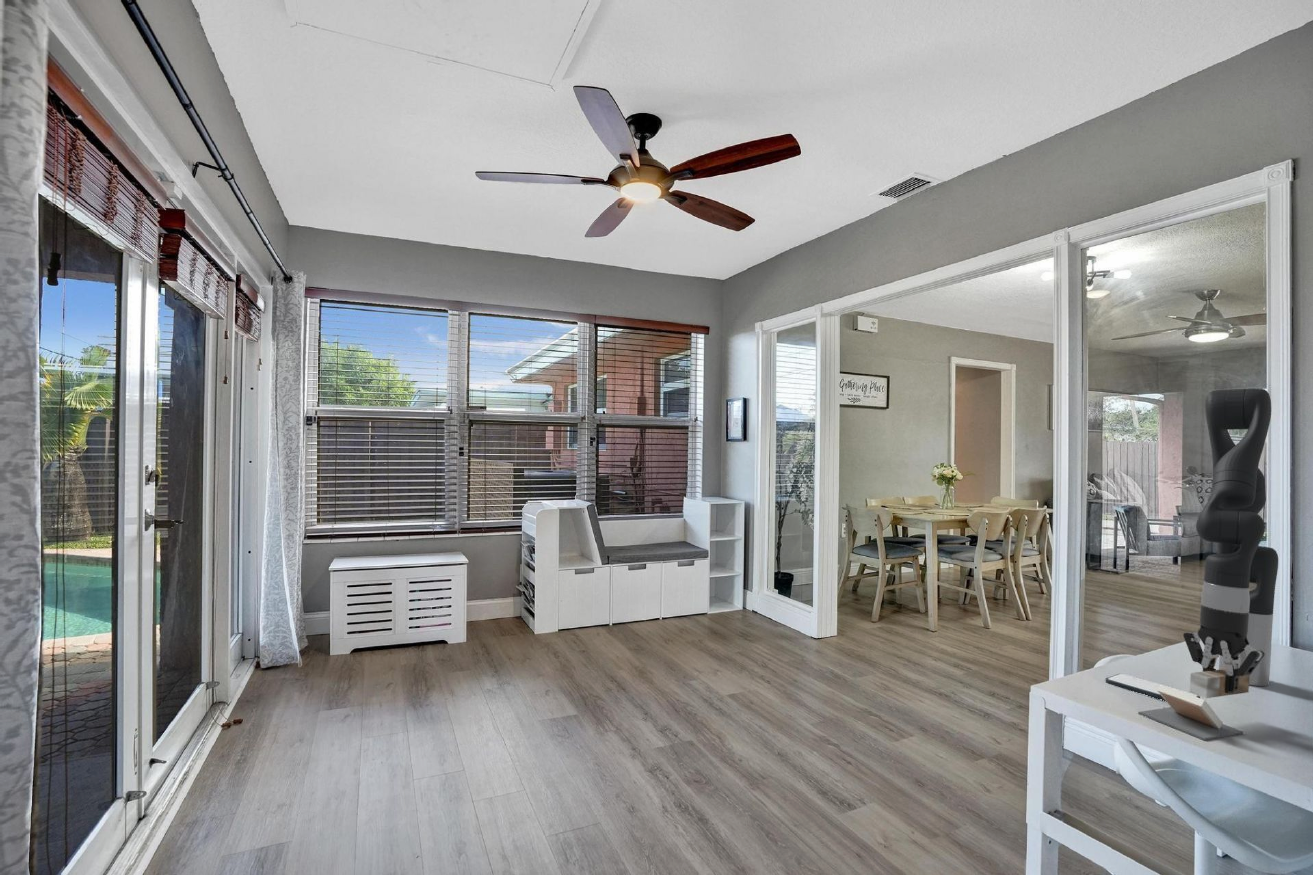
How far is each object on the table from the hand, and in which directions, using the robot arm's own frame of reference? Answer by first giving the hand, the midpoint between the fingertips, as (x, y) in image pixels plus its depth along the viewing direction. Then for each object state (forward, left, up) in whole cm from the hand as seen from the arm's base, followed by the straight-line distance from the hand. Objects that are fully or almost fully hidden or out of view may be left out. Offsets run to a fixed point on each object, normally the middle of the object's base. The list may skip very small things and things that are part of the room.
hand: (1219, 689), depth 135 cm
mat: (+9, 0, -6) cm, 11 cm away
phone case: (-2, -14, -7) cm, 16 cm away
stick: (0, 0, -1) cm, 1 cm away
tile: (+6, 0, -5) cm, 8 cm away
